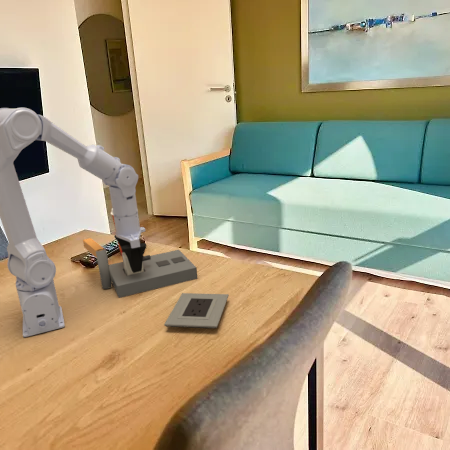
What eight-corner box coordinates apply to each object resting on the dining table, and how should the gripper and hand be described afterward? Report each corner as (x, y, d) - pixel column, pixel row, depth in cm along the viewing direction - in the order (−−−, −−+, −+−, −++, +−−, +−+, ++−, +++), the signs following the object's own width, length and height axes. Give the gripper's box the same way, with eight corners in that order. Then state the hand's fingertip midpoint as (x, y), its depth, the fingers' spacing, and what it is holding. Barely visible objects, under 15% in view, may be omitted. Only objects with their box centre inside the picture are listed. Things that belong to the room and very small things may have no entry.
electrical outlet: (217, 335, 84) (216, 324, 84) (165, 333, 86) (164, 322, 86) (229, 302, 97) (228, 293, 96) (183, 301, 99) (182, 291, 98)
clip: (113, 286, 107) (107, 250, 104) (104, 289, 105) (97, 253, 102) (97, 271, 116) (91, 237, 113) (88, 273, 115) (82, 240, 112)
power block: (197, 278, 109) (196, 266, 108) (118, 297, 101) (116, 285, 100) (180, 259, 121) (178, 249, 120) (108, 275, 114) (106, 264, 113)
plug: (154, 280, 109) (151, 252, 107) (129, 286, 107) (125, 257, 105) (150, 274, 113) (147, 247, 111) (126, 280, 111) (121, 252, 108)
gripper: (149, 218, 99) (157, 272, 103) (135, 203, 112) (142, 253, 116) (118, 224, 97) (127, 279, 101) (107, 208, 109) (115, 258, 114)
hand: (133, 265), depth 108 cm, fingers open, 7 cm apart
